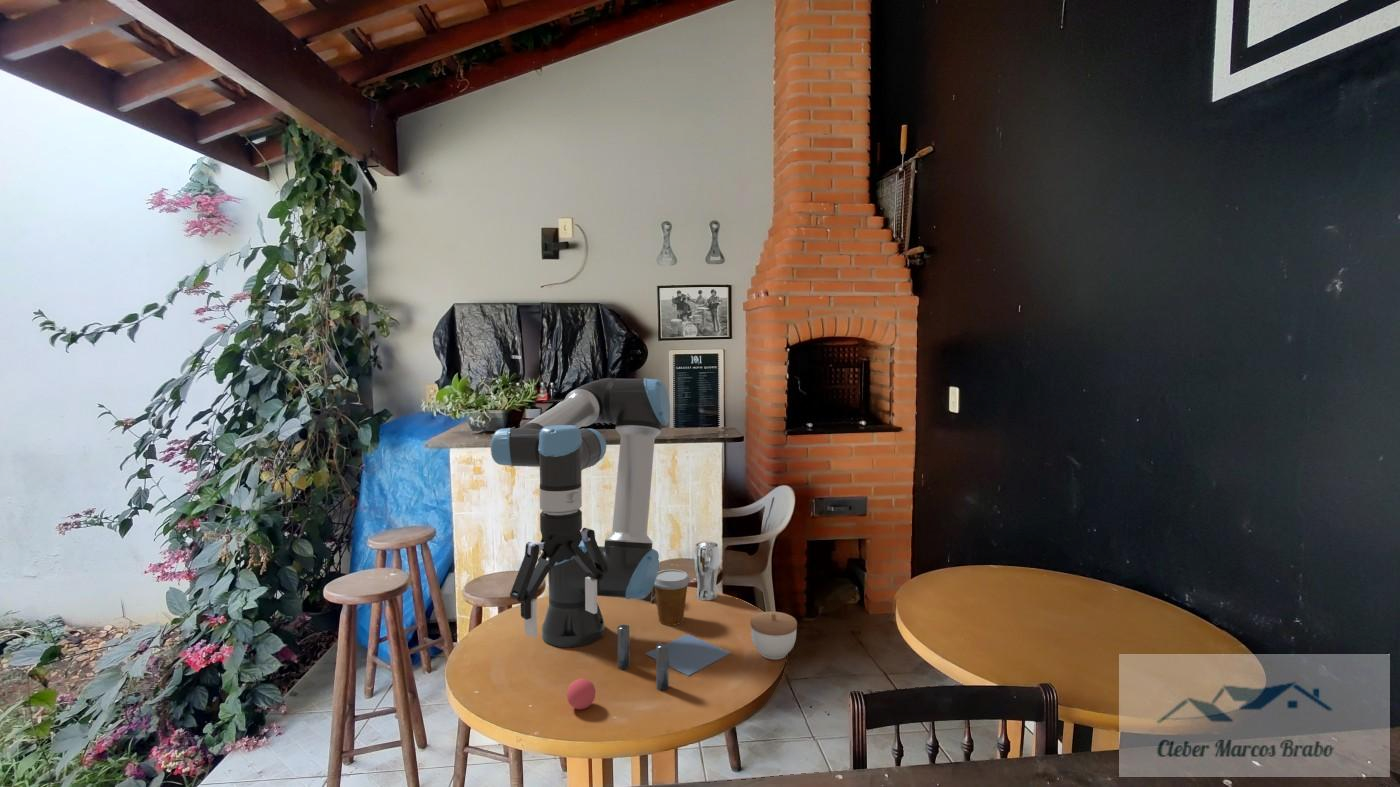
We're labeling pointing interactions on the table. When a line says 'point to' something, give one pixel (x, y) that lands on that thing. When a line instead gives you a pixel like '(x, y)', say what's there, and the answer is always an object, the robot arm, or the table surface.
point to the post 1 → (623, 647)
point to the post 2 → (662, 666)
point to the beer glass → (706, 569)
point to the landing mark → (691, 654)
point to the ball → (581, 693)
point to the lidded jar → (773, 634)
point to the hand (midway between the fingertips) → (562, 622)
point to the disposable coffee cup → (671, 595)
